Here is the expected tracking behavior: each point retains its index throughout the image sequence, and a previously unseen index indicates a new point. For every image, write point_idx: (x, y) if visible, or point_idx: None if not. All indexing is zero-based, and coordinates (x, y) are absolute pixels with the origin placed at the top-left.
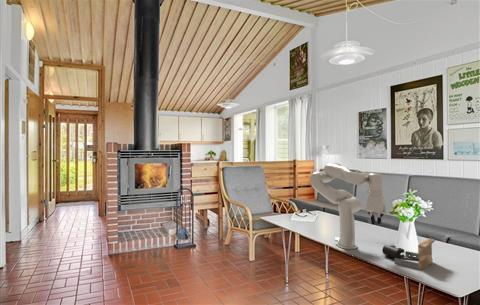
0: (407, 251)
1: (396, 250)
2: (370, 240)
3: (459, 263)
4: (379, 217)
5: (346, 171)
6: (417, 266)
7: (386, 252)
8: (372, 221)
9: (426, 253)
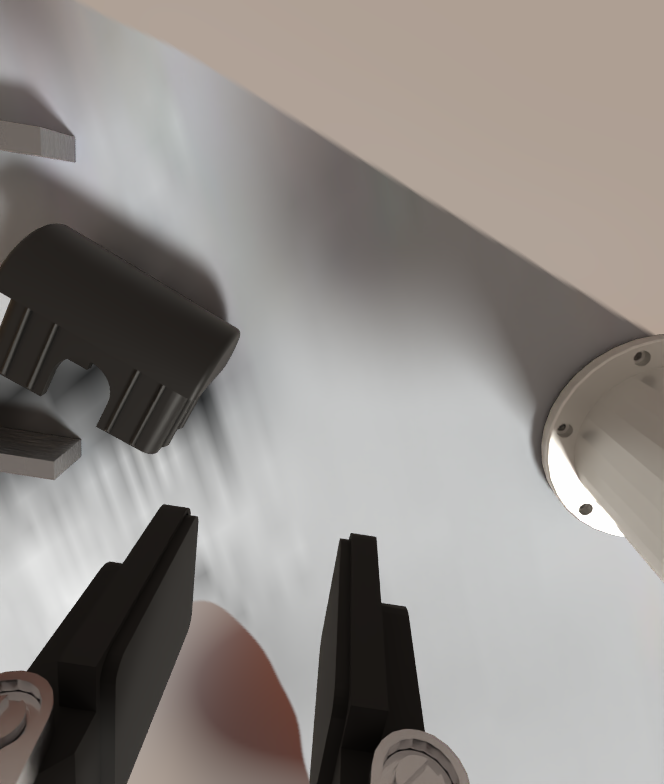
0: (40, 472)
1: (23, 255)
2: (470, 721)
3: None
4: (13, 688)
5: None
6: None
7: (182, 296)
8: (342, 562)
9: None
